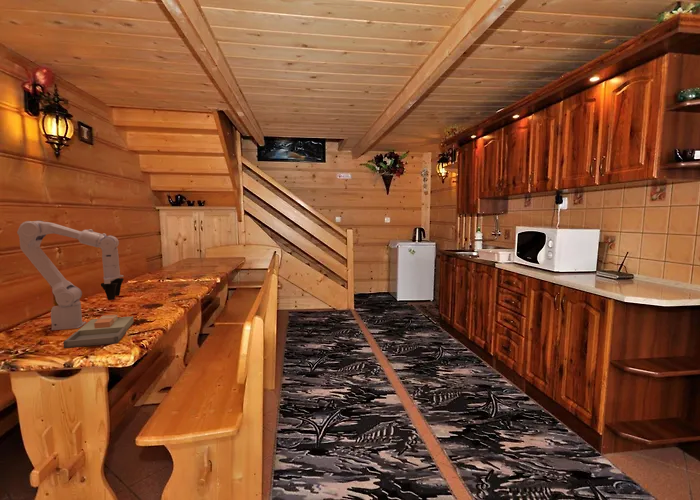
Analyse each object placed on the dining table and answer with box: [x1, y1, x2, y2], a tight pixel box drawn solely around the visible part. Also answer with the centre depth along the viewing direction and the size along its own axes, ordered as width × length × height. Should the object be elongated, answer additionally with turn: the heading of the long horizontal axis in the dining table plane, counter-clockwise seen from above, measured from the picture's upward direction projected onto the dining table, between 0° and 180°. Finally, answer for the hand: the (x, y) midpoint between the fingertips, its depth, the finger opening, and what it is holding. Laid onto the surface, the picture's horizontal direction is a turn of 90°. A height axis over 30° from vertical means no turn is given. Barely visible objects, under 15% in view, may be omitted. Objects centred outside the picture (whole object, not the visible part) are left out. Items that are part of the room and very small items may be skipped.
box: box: [63, 328, 127, 349], centre depth 135 cm, size 16×11×2 cm
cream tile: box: [99, 314, 118, 322], centre depth 149 cm, size 5×5×2 cm
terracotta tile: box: [94, 318, 114, 328], centre depth 143 cm, size 5×5×2 cm
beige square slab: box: [76, 315, 135, 336], centre depth 147 cm, size 15×15×2 cm
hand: (113, 297), depth 155 cm, fingers open, 7 cm apart
